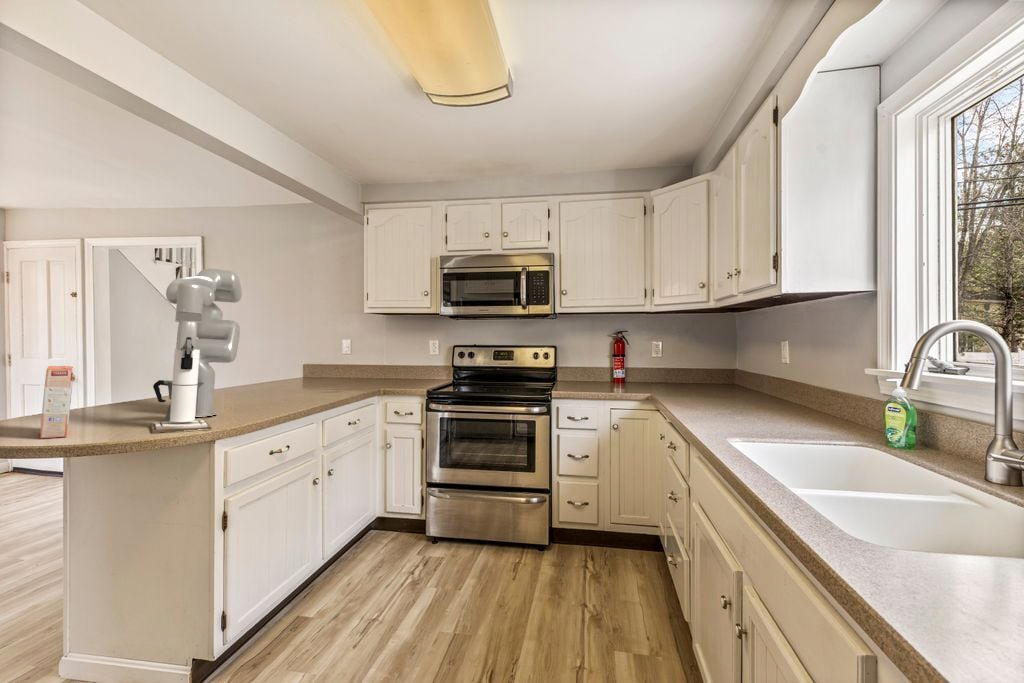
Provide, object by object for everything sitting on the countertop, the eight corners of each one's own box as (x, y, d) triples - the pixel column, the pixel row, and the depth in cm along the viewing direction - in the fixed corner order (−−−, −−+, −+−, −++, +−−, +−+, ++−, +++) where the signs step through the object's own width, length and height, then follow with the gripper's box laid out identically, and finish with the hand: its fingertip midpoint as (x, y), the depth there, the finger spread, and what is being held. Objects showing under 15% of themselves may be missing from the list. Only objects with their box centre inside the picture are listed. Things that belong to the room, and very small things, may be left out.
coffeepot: (200, 418, 177) (203, 373, 178) (202, 422, 170) (205, 375, 170) (150, 420, 167) (153, 372, 168) (150, 424, 160) (154, 374, 161)
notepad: (150, 426, 157) (150, 421, 157) (205, 423, 167) (205, 418, 167) (152, 433, 146) (152, 427, 146) (210, 430, 157) (211, 424, 157)
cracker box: (68, 437, 134) (73, 368, 135) (39, 439, 130) (44, 367, 131) (68, 430, 145) (73, 365, 145) (41, 431, 140) (47, 365, 141)
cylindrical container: (169, 422, 152) (174, 349, 153) (170, 419, 158) (175, 348, 158) (195, 421, 156) (200, 350, 157) (194, 418, 162) (199, 349, 163)
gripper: (173, 317, 162) (169, 366, 161) (177, 316, 149) (173, 370, 148) (198, 319, 167) (195, 367, 166) (204, 318, 154) (201, 370, 153)
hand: (185, 368), depth 157 cm, fingers closed on cylindrical container, 7 cm apart
